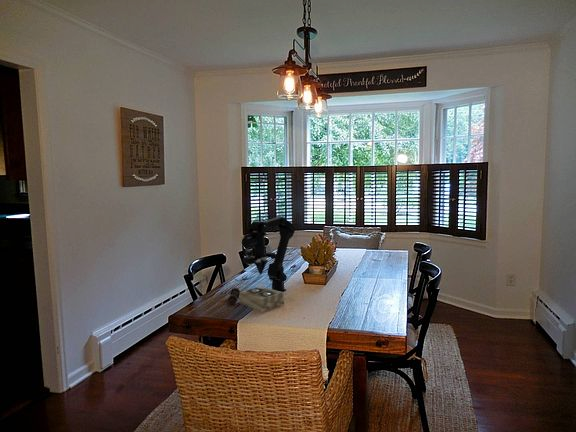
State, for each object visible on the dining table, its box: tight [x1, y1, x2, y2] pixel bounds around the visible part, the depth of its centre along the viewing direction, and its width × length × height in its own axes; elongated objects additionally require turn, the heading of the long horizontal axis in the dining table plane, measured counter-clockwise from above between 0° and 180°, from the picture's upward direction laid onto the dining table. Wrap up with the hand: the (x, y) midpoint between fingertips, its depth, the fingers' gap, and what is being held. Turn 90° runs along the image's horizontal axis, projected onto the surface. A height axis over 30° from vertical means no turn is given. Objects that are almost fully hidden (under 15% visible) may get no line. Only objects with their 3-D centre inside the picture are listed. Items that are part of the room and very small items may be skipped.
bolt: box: [227, 287, 241, 306], centre depth 220 cm, size 6×5×15 cm
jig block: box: [239, 285, 285, 312], centre depth 213 cm, size 14×18×6 cm
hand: (260, 273), depth 223 cm, fingers closed
